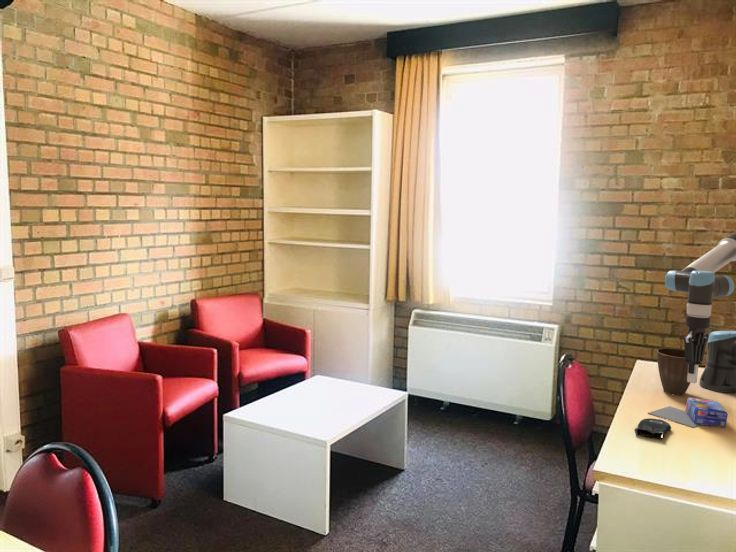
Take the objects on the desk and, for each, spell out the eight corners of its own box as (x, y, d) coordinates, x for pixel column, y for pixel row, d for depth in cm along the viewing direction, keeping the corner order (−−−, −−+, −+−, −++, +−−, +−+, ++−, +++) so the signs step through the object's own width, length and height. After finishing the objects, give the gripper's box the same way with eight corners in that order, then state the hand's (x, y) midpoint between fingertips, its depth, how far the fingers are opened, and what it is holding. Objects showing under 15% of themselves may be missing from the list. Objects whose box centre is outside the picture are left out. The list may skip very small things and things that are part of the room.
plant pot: (702, 399, 242) (706, 358, 240) (663, 397, 242) (666, 356, 240) (684, 387, 256) (688, 348, 254) (647, 386, 257) (650, 347, 255)
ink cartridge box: (718, 400, 222) (731, 416, 208) (715, 415, 223) (728, 431, 209) (687, 396, 224) (698, 411, 210) (684, 411, 225) (695, 427, 211)
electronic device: (666, 447, 197) (673, 426, 210) (665, 430, 196) (671, 411, 209) (634, 444, 203) (642, 424, 215) (633, 427, 202) (641, 409, 214)
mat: (669, 407, 231) (669, 406, 231) (714, 420, 219) (714, 419, 218) (647, 413, 223) (647, 412, 223) (693, 427, 210) (693, 426, 210)
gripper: (697, 312, 227) (690, 377, 229) (677, 315, 219) (671, 382, 222) (718, 315, 221) (712, 382, 223) (699, 319, 213) (692, 387, 216)
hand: (691, 382), depth 223 cm, fingers closed
